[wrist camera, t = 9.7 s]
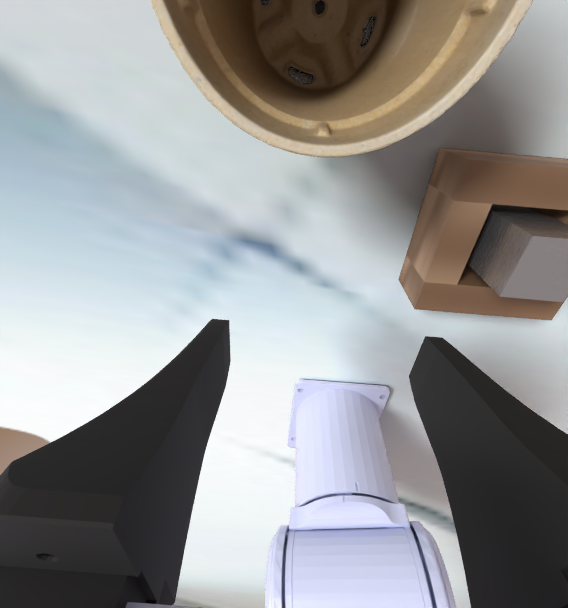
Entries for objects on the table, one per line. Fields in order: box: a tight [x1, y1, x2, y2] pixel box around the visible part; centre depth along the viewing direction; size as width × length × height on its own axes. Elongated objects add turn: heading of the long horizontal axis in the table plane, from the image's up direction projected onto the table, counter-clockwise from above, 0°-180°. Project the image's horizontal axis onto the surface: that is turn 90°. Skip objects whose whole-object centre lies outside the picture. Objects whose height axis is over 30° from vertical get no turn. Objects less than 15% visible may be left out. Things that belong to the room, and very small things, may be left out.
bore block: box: [399, 148, 568, 320], centre depth 17 cm, size 8×8×4 cm
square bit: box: [467, 204, 568, 302], centre depth 16 cm, size 3×3×6 cm
